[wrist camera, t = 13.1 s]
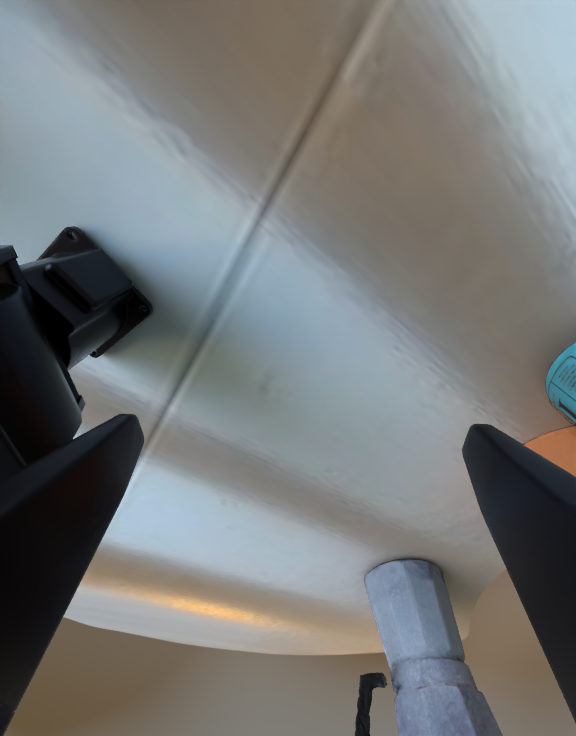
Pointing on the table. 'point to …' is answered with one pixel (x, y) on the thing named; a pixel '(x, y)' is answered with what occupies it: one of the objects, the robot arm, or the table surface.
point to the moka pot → (422, 656)
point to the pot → (557, 448)
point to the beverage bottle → (563, 383)
